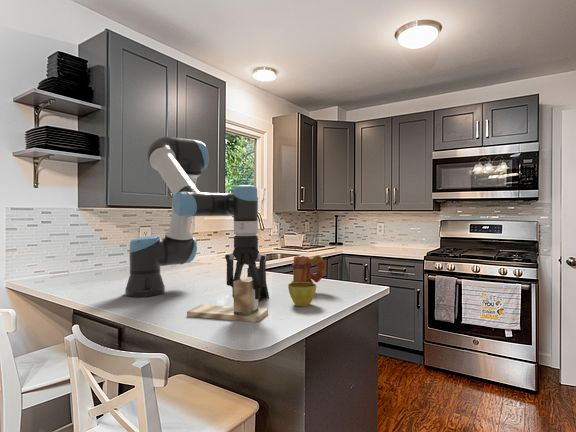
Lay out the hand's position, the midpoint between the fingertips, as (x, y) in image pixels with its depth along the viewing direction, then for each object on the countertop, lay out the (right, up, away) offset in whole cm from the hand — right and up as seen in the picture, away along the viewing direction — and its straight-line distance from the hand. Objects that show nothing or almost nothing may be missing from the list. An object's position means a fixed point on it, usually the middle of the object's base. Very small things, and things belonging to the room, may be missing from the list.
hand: (246, 308), depth 112 cm
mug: (+21, -2, +36) cm, 42 cm away
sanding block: (0, -1, 0) cm, 1 cm away
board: (-6, -3, +2) cm, 7 cm away
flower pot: (+18, -3, +14) cm, 23 cm away
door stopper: (+1, -3, +23) cm, 23 cm away
